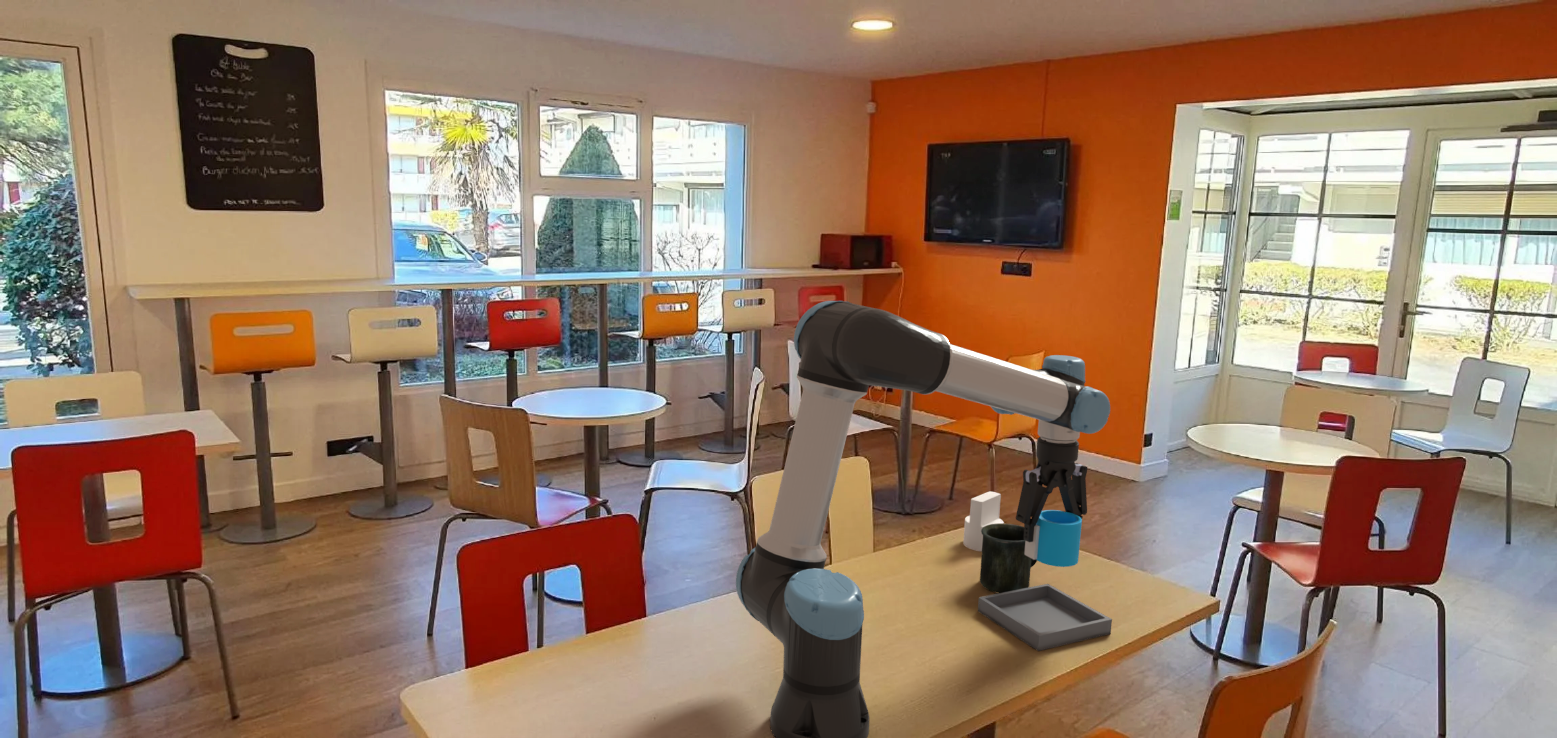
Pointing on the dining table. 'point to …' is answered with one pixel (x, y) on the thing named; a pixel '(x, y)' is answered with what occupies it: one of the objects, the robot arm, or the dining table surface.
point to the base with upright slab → (981, 518)
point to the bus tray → (1044, 616)
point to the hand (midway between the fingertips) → (1048, 553)
